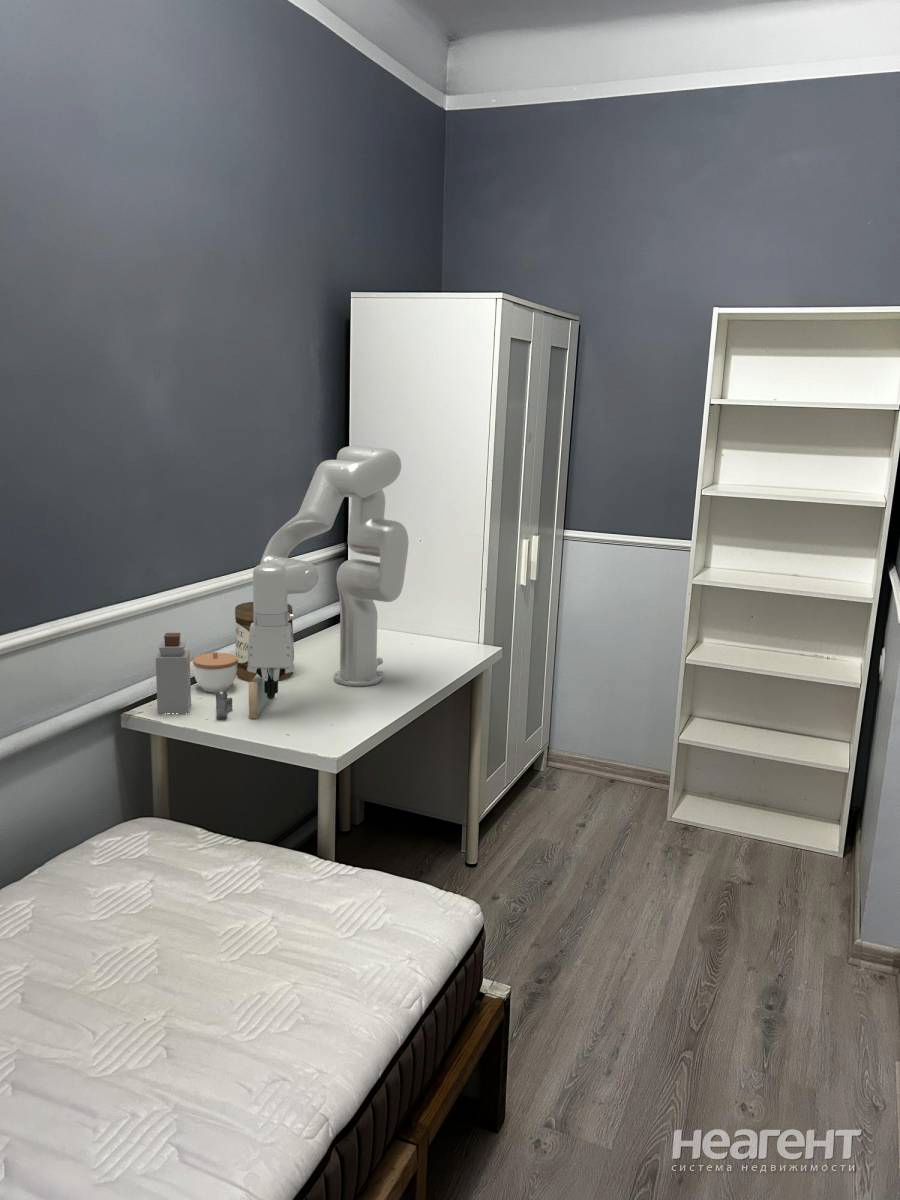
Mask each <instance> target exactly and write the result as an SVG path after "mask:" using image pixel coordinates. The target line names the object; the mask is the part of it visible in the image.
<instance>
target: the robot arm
mask: <svg viewBox="0 0 900 1200" xmlns="http://www.w3.org/2000/svg"><path fill="white" fill-rule="evenodd" d="M401 471H402V460H401V458H400V456H399V454H398V453H397V452H396V451H394V450H392V449H389V448H383V447H381V448H380V447H371V446H360V445H359V446H358V445H352V446H345V447H343V448H341V449H340V450H339V451H338V452H337V454H336V459H327V460H323V461H321V462H320V464H319V465H318V466H317V467H316V469H315V472H314V475H313V476H312V479H311V481H310V484H309V487H308V488H307V491H306V493H305V496H304V498H303V501H302V504H301V506H300V508H299V511H298V513H297V514H295V516H293V517H292V518H291V519H290V520H288V521H287V522H286V523H284V525H282V526H281V527H280V528H278V530H277V531H276V532H275V533H274V534H273V535H272V536H271V538H270V540H268V541H269V542H268V543H267V545H266V547H265V550H264V552H263V554H262V557H261V560H260V563H259V564H258V565H256V566H255V567H254V568H253V572H252V593H253V594H252V595H253V596H252V597H253V599H252V600H253V601H252V602H253V612H254V622H253V623H251V626H250V632H249V642H248V667H247V671H249V672H253V673H257V674H258V675H259V676H260V677H261V678H262V679H263V681H264V693H267V698H270V697H272V698H273V699H274V698H275V697H276V694H278V693H279V681H278V679H279V678H280V677H281V676H283V675H284V674H285V673H290V672H293V673H294V672H295V669H296V667H295V663H294V660H295V646H294V645H295V642H294V631H293V632H292V627H291V623H288V621H289V620H292V621H294V620H295V619H294V618H295V614H290V613H289V612H288V610H287V604H288V596H289V595H293V594H294V595H296V594H300V595H301V594H306V593H309V592H310V591H312V590H313V589H314V588H315V587H316V586H317V584H318V583H319V577H320V576H319V571H318V568H317V567H316V566H315V565H314V564H313V563H311V562H309V561H305V560H300V559H295V558H290V557H289V556H290V553H291V552H292V551H293V550H294V549H295V547H296V546H298V545H299V544H300V543H302V542H304V541H306V540H308V539H310V538H313V537H316V536H318V535H319V536H320V535H321V534H323V533H326V532H328V531H330V530H331V529H332V527H333V526H334V523H335V520H336V518H337V515H338V513H339V511H340V508H341V506H342V503H343V501H344V498H351V506H350V507H351V508H350V515H349V521H348V522H349V523H348V531H347V533H348V534H347V545H348V548H349V549H350V550H351V551H352V552H353V553H355V554H359V555H364V556H365V555H366V556H370V557H376V558H379V561H378V562H377V561H372V560H366V559H360V558H359V559H358V558H356V559H355V558H354V559H348V560H345V561H344V562H342V563H341V564H340V566H339V568H338V569H337V573H336V586H337V591H338V596H339V597H338V598H339V606H340V608H339V609H340V619H339V621H340V622H339V670H337V671H336V672H334V673H333V680H334V681H335V682H336V683H338V684H341V685H345V686H349V687H365V686H366V687H367V686H374V685H377V684H378V683H380V682H381V681H382V680H383V674H382V672H381V671H378V666H381V665H383V663H384V660H383V658H382V657H377V655H378V652H377V651H378V618H379V617H378V611H377V607H376V604H375V602H376V601H378V602H382V603H383V602H384V603H391V602H394V601H396V600H397V599H398V598H399V597H400V595H401V593H402V592H403V587H404V582H405V576H406V567H407V559H408V552H409V551H408V550H409V535H408V534H409V533H408V531H407V529H406V528H405V526H404V525H403V524H402V523H401V522H398V521H396V520H392V519H385V511H386V509H385V508H386V496H385V492H384V489H385V488H387V487H388V486H390V485H392V484H393V483H394V482H395V481H396V480H397V479H398V477H399V476H400V474H401ZM374 601H375V602H374ZM268 668H275V669H274V675H273V677H272V678H271V677H270V675H269V671H268Z"/></svg>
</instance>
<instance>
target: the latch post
mask: <svg viewBox="0 0 900 1200" xmlns="http://www.w3.org/2000/svg"><path fill="white" fill-rule="evenodd" d="M215 702H216V703H215V704H216V705H215V708H216V709H215V710H216V711H215V714H216V717H215V718H216V720H217V721H226V720H228V713H230V712H232V711H233V698H232V697H228V693H227V692H226V691H218V692H215Z"/></svg>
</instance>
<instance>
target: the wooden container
mask: <svg viewBox="0 0 900 1200" xmlns="http://www.w3.org/2000/svg"><path fill="white" fill-rule="evenodd" d="M287 610H288V612H289V613H290V614H293V613H294V612H293V606H292V605H291V603H290V604H289V603H287ZM234 616H235V617H234V618H235V620H234V621H235V656H236V657H237V659H238V662H237V674H236V677H237V676H238V678H239V679H241V680H244V681H246V680H247V681H248V682H251V681H252V680H253V679H254V677H255V676H256V675H257V673H253V672H249V671H247V667H248V642H249V632H250V626H251V623H253V622H254V612H253V601H248V602H242V603H240V604H237V605H236V606H235V609H234ZM288 623H291V627H292V632H293V633H294V628H293V620H289V621H288ZM274 669H275V668H274ZM293 674H294V672H290V673H285V674H284V675H283V676H281V677H280V678H279V679H278V682H279V681H283V680H286V679H288V678H290V677H292V676H293ZM247 681H246V682H247Z"/></svg>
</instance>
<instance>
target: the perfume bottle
mask: <svg viewBox="0 0 900 1200" xmlns="http://www.w3.org/2000/svg"><path fill="white" fill-rule="evenodd" d="M163 638H164V639H163V640H162V641H161V642H160V644H159V647H158V649H159V650H158V652H157V654H156V656H155V674H156V675H155V676H156V678H155V679H156V703H157V704H156V705H157V710H156V711H157V715H158V714H165V713H166V714H167V713H170V714H172V713H174V714H176V713H178V715H189V714H190V710H191V707H190V706H192V692H191V691H192V689H191V686H192V685H191V651H190V649H188V648H187V649H185V648H186V643H187V640H181V632H166V633H165V634H164V636H163ZM189 709H190V710H189ZM186 713H187V714H186ZM188 713H189V714H188Z"/></svg>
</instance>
